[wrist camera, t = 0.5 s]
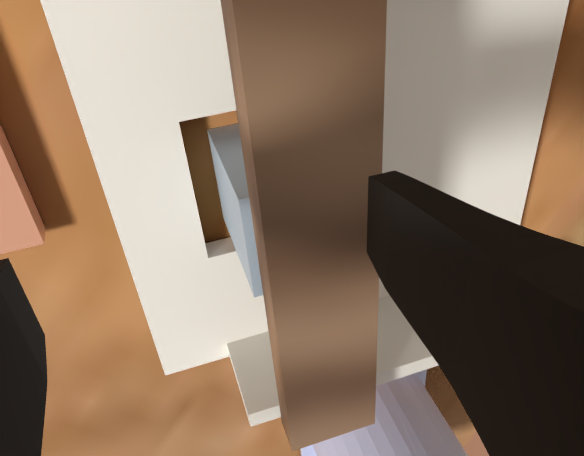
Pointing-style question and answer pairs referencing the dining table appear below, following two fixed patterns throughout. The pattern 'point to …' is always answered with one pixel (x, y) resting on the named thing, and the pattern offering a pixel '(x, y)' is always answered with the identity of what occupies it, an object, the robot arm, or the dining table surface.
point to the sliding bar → (313, 196)
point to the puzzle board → (220, 98)
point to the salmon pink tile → (16, 205)
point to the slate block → (235, 199)
